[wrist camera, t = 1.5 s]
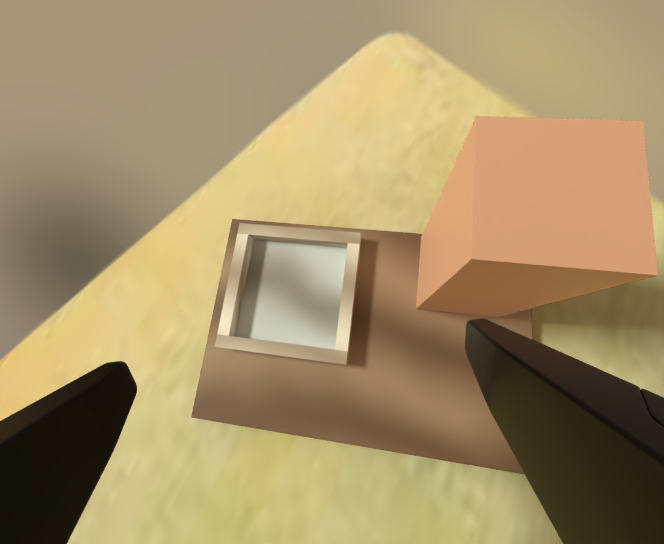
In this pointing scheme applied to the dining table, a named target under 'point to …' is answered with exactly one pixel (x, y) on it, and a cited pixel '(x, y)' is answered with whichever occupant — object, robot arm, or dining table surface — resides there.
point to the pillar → (538, 216)
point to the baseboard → (344, 346)
